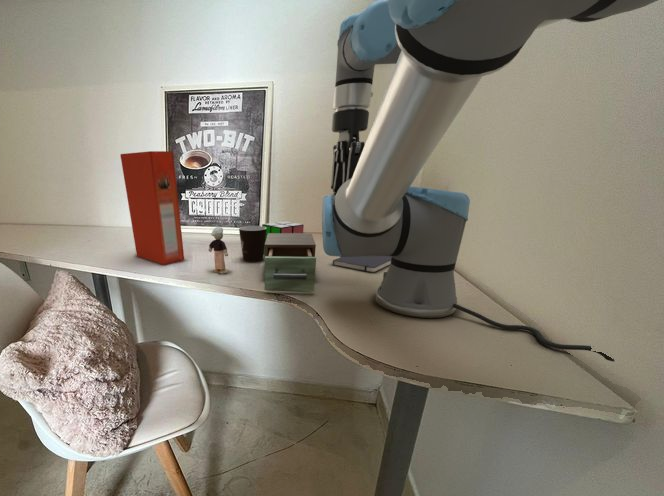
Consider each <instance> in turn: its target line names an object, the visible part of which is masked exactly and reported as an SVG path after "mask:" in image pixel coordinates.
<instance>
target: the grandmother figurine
mask: <svg viewBox="0 0 664 496" xmlns="http://www.w3.org/2000/svg"><path fill="white" fill-rule="evenodd" d="M223 233H224V229H223V227H221V226H215V227H214V228H213V230H212V231H211V234H210V235H211V236H212V237H214V240H212V241H211V242H210V244H209V245H208V252H210V253H212V252H214V256H213V257H214V259H213V260H214V270H213V273H218V274H220V275H225V274H229V270H228V269H226V263H225V257H228V256H229V253H228V247H227V245H226V243H225V241H223V240H222V239H223V237H224V234H223Z"/></svg>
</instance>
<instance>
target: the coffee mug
mask: <svg viewBox="0 0 664 496" xmlns="http://www.w3.org/2000/svg"><path fill="white" fill-rule="evenodd" d="M266 229H267V228H266V227H262V225H247V226H241V227H239V228H238V231H239V240H240V247H241V254H242V261H244V262H246V263H259V262H262V261H263V260H264V256H265V254H264V246H265V238H266Z"/></svg>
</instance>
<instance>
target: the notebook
mask: <svg viewBox="0 0 664 496" xmlns="http://www.w3.org/2000/svg"><path fill="white" fill-rule="evenodd" d="M391 258H392V256H360V257H340V256H339V257H338V258H335V259H333V260H332V266H336V267H341V268H346V269H351V270H356V271H361V272H367V273H370V274H371V273H376V272H379V271H381V270H383V269H385V268H386V267H390V263H391Z"/></svg>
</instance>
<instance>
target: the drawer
mask: <svg viewBox="0 0 664 496" xmlns="http://www.w3.org/2000/svg"><path fill="white" fill-rule="evenodd" d="M316 266H317V257H316V256H315V257H312V254H311V251H310V248H270V251H269V256H265V255H264V291H282V292H283V291H285V292H286V291H289V292H314V291H315V283H316V282H315V279H316Z"/></svg>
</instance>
